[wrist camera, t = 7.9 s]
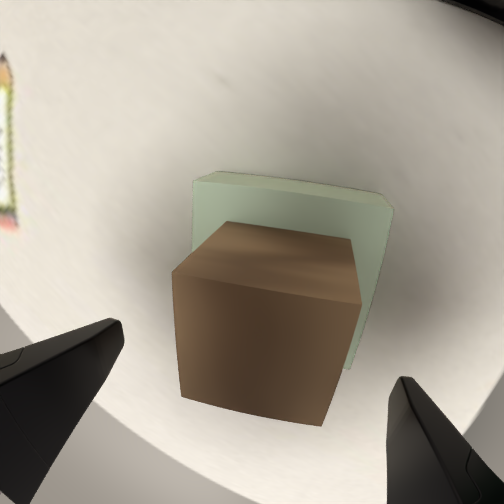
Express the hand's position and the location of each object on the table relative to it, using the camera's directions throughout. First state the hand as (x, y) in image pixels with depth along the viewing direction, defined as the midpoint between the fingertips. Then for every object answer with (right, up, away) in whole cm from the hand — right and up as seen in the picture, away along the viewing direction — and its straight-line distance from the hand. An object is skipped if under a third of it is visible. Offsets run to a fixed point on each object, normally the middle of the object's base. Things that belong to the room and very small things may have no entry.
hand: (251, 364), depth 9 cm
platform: (+2, +3, +7) cm, 8 cm away
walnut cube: (+1, +2, +4) cm, 5 cm away
